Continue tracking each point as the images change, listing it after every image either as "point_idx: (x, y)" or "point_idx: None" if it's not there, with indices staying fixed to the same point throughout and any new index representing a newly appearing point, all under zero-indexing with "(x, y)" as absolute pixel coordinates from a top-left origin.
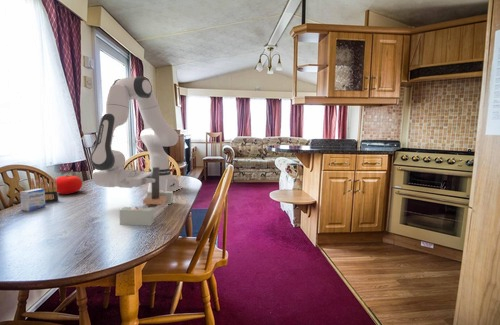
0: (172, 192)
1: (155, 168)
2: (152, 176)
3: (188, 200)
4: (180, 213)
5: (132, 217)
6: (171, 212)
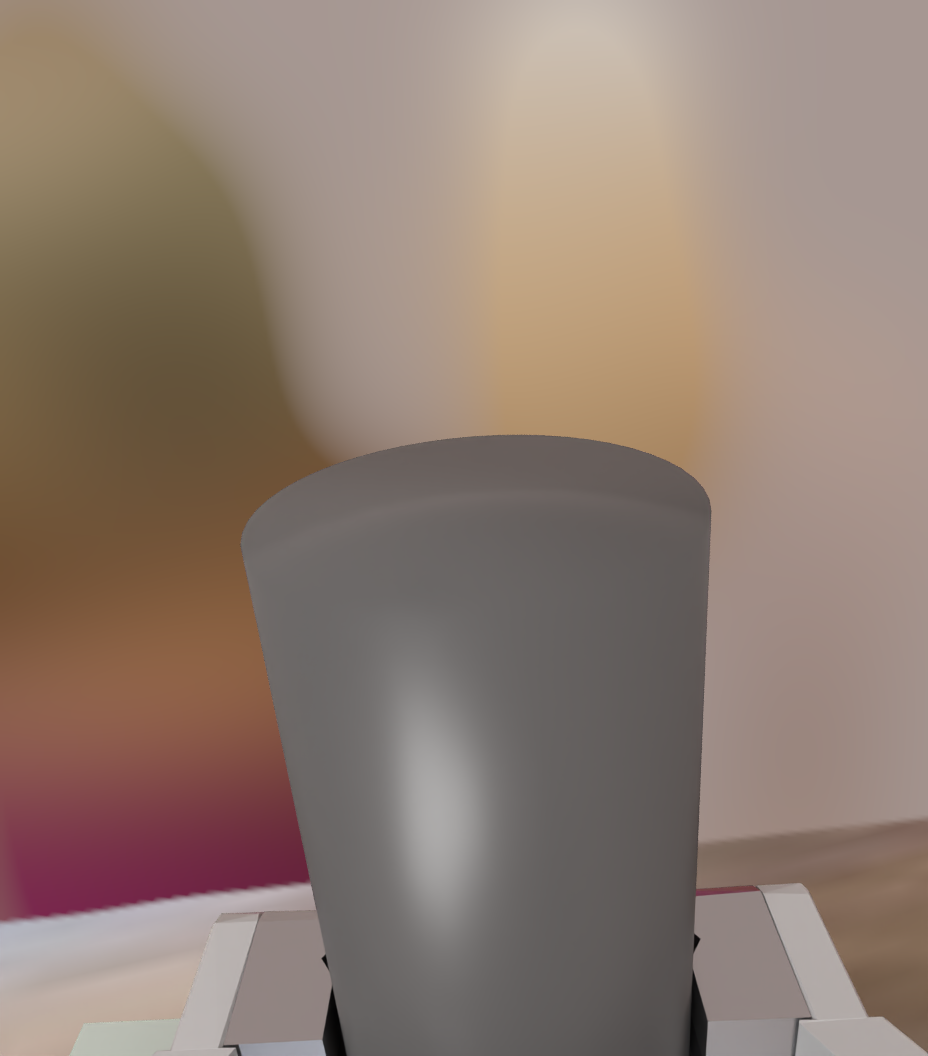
0: (137, 1028)
1: (667, 480)
2: (687, 957)
3: (64, 952)
4: None
5: None
6: None
